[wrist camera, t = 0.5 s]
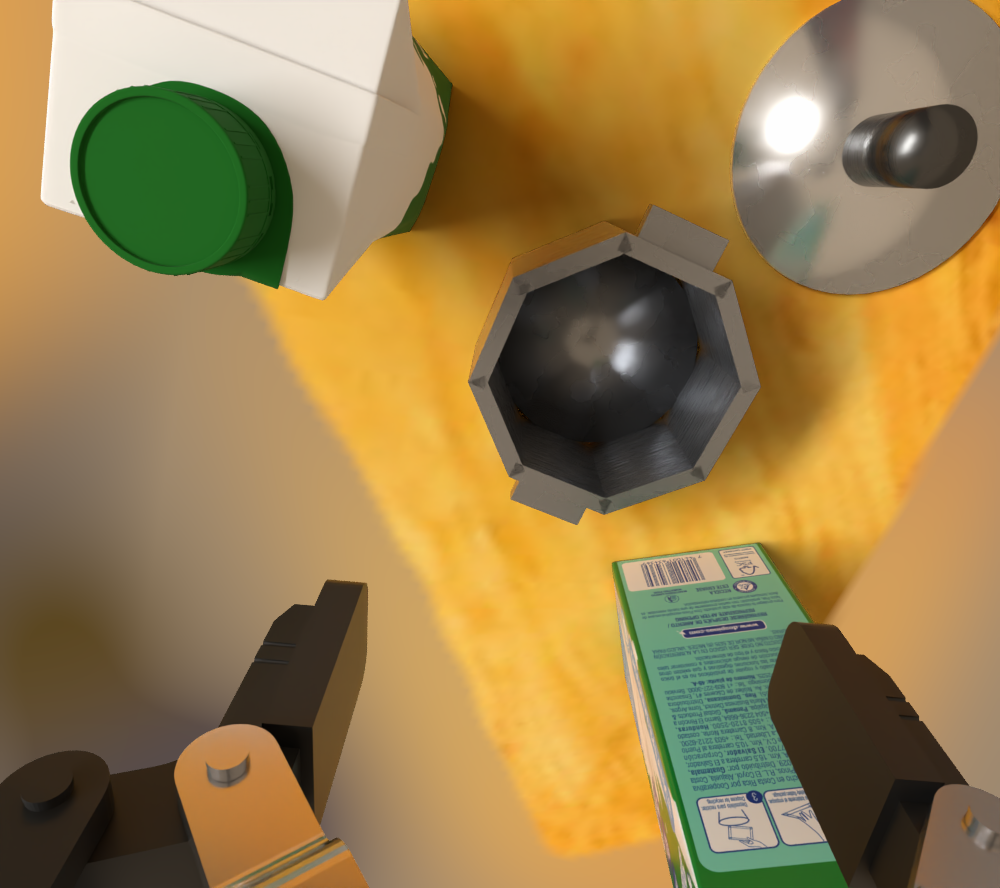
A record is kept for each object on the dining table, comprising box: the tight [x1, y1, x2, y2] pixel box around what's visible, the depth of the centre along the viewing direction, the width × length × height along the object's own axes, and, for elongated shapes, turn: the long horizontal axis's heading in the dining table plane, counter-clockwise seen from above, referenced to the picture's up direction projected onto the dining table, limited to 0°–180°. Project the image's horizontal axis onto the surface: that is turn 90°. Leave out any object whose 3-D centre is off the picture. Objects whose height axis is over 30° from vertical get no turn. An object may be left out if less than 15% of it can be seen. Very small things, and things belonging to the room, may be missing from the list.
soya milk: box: [41, 0, 452, 300], centre depth 24 cm, size 9×9×20 cm
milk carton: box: [612, 543, 848, 888], centre depth 31 cm, size 9×9×25 cm
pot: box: [468, 204, 761, 525], centre depth 33 cm, size 15×12×7 cm
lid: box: [730, 0, 1000, 294], centre depth 31 cm, size 14×14×6 cm
